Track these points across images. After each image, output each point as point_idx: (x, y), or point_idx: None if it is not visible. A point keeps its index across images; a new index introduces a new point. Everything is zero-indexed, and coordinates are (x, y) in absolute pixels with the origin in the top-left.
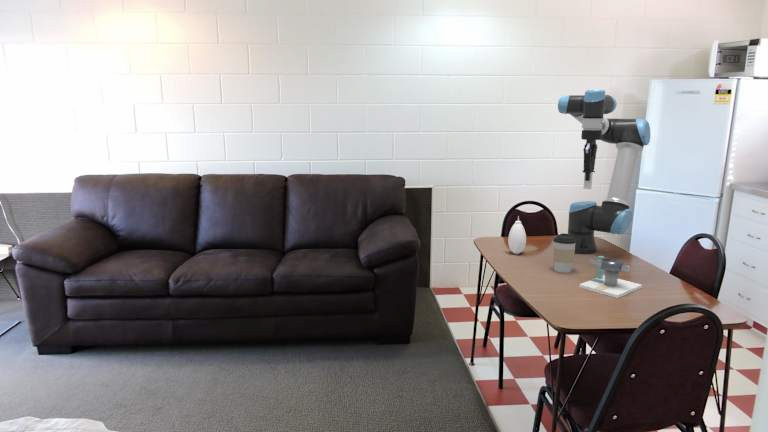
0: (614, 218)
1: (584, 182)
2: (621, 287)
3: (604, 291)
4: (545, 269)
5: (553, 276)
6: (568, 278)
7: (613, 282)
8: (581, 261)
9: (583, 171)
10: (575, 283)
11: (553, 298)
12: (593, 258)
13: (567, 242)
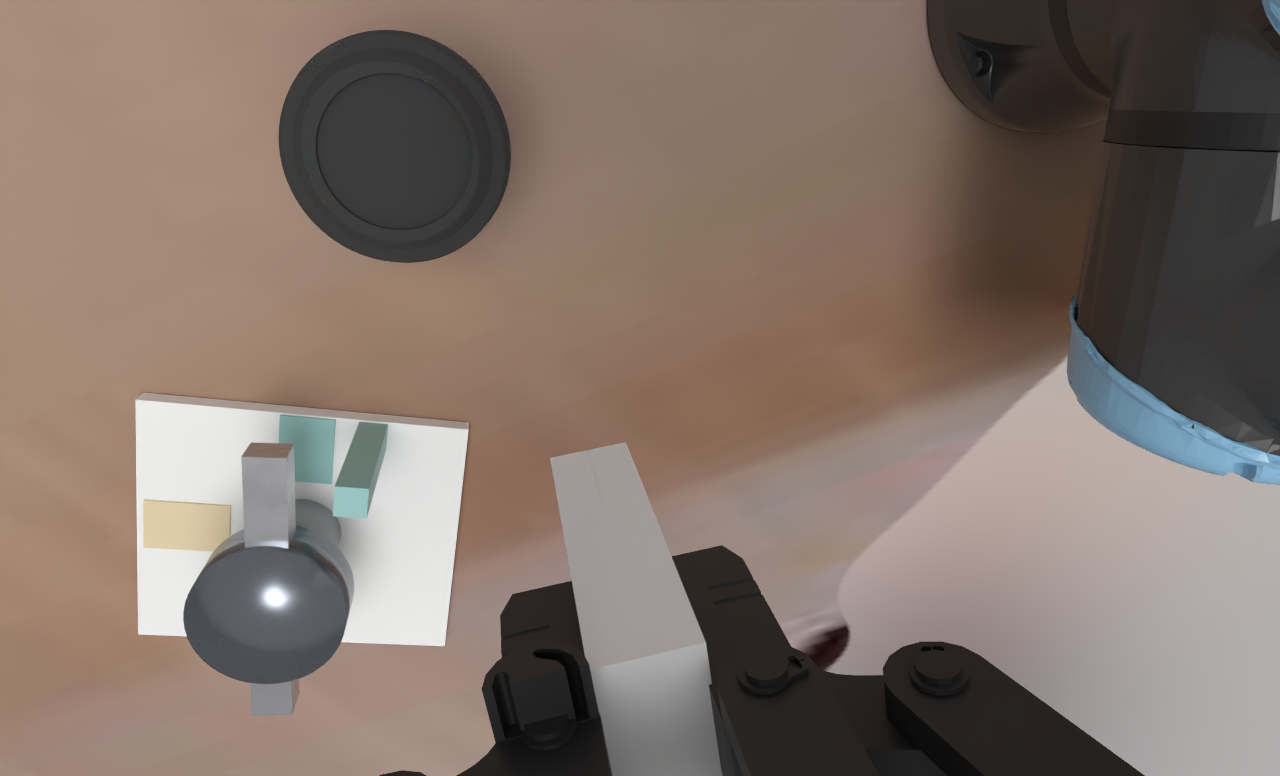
0: (1137, 368)
1: (565, 527)
2: None
3: (137, 561)
4: (337, 19)
5: (220, 153)
6: (267, 257)
7: None
8: (740, 147)
9: (494, 702)
10: (202, 340)
11: None
12: (269, 474)
13: (318, 219)
